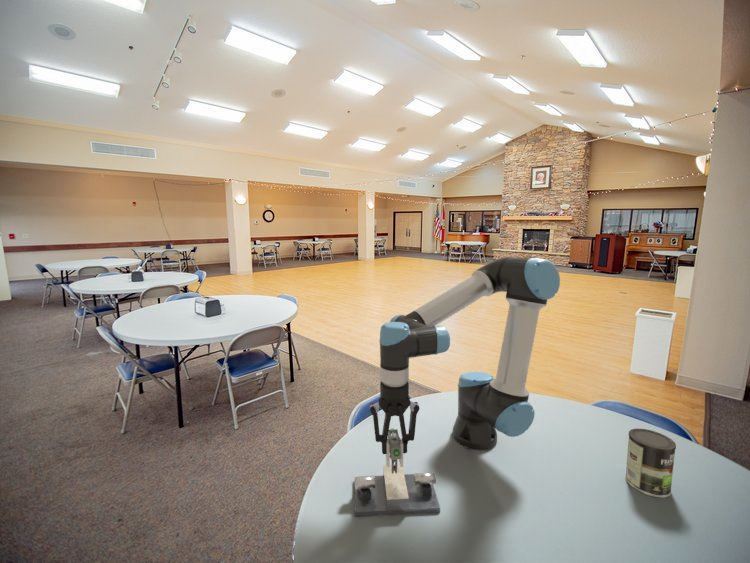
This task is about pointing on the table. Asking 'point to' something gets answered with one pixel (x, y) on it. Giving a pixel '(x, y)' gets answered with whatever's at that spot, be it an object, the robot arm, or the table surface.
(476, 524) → the table surface
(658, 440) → the coffee can
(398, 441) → the mechanical component
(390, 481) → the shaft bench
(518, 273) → the robot arm
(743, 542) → the table surface
